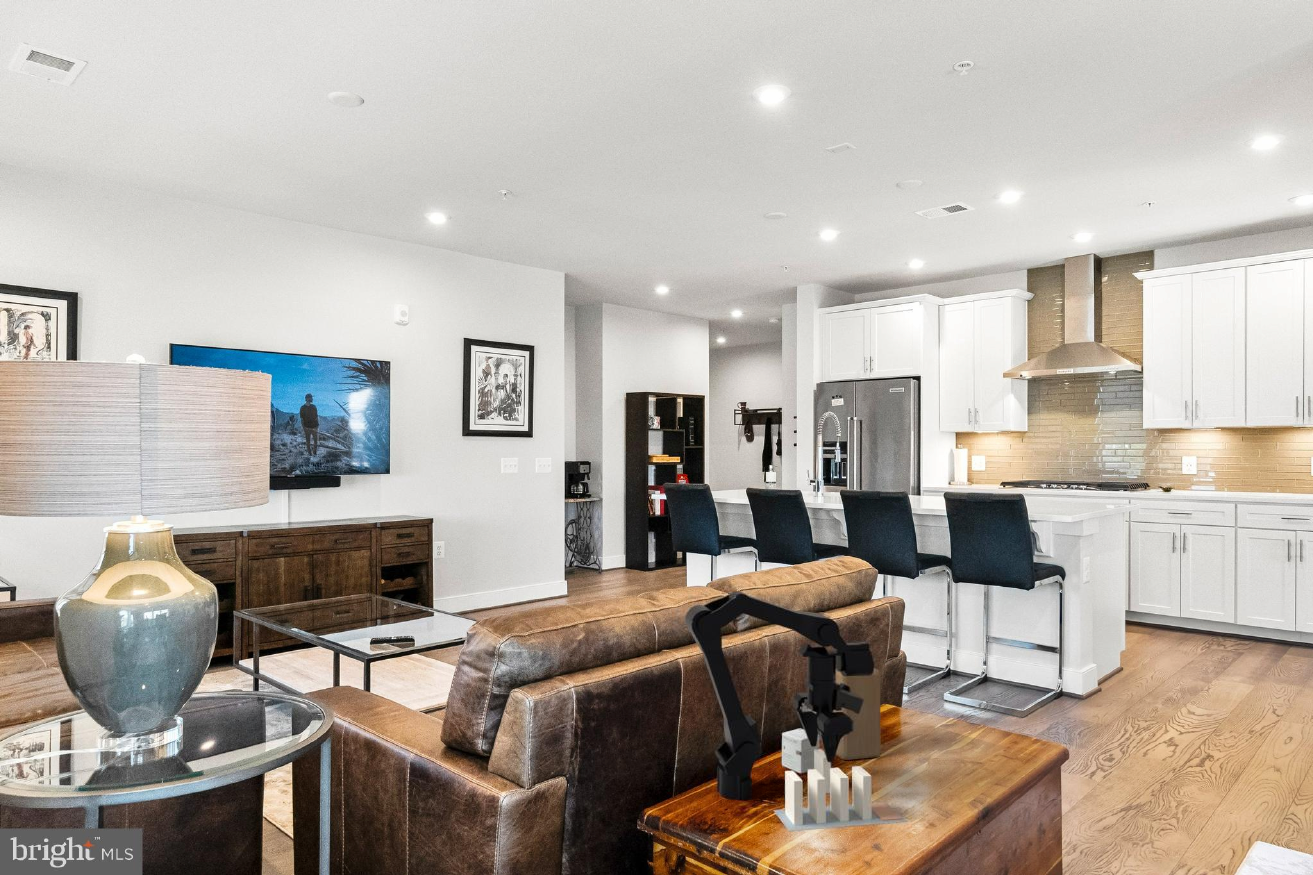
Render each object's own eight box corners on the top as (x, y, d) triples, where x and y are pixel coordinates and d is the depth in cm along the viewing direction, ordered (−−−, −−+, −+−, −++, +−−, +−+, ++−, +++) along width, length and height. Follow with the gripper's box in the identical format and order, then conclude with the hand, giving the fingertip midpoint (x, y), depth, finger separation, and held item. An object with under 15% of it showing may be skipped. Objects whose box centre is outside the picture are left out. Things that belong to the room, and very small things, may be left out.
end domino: (823, 798, 165) (823, 758, 165) (814, 788, 169) (814, 749, 170) (830, 797, 165) (830, 757, 165) (821, 788, 170) (821, 749, 170)
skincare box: (781, 765, 182) (781, 732, 182) (799, 759, 186) (799, 727, 186) (801, 774, 177) (801, 739, 178) (820, 767, 181) (820, 734, 181)
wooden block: (843, 762, 184) (842, 672, 185) (822, 747, 194) (822, 662, 195) (882, 757, 187) (881, 669, 188) (860, 743, 197) (859, 659, 197)
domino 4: (863, 819, 152) (863, 776, 152) (852, 808, 157) (852, 766, 157) (871, 819, 153) (871, 775, 153) (860, 808, 157) (859, 766, 158)
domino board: (789, 836, 148) (789, 829, 148) (773, 815, 156) (773, 809, 156) (907, 826, 152) (907, 820, 152) (885, 806, 160) (885, 800, 161)
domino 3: (840, 821, 151) (840, 777, 152) (830, 810, 156) (830, 768, 157) (848, 820, 152) (848, 777, 152) (838, 809, 157) (837, 767, 157)
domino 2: (817, 823, 151) (817, 779, 151) (807, 812, 156) (807, 769, 156) (825, 822, 151) (825, 779, 151) (815, 811, 156) (815, 769, 156)
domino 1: (794, 825, 150) (794, 781, 150) (785, 813, 155) (785, 771, 155) (802, 824, 150) (802, 780, 150) (793, 813, 155) (793, 770, 155)
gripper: (878, 687, 160) (878, 768, 160) (840, 664, 178) (840, 736, 178) (824, 690, 158) (824, 771, 158) (791, 666, 176) (791, 739, 176)
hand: (821, 753), depth 167 cm, fingers open, 9 cm apart
